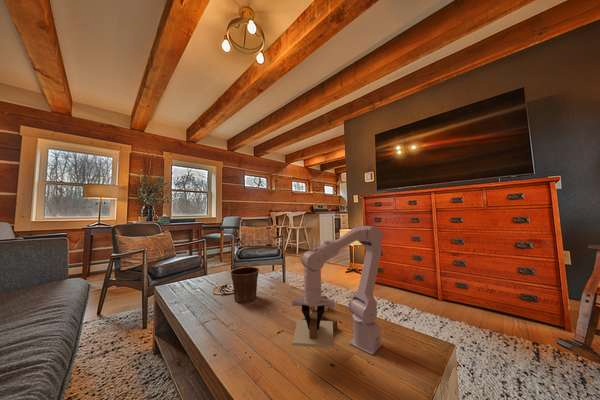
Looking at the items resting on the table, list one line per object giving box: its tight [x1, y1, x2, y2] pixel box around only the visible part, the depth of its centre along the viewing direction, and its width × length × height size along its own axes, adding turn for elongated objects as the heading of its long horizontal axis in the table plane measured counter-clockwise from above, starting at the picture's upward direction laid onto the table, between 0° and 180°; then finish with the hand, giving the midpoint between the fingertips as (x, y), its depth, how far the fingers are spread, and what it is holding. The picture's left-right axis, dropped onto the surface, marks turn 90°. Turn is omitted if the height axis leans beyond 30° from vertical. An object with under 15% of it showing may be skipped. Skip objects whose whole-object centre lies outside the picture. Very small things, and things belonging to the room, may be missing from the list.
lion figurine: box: [303, 294, 331, 313], centre depth 108 cm, size 15×5×9 cm, turn 109°
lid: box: [291, 312, 335, 349], centre depth 73 cm, size 13×13×5 cm
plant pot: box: [230, 266, 260, 304], centre depth 123 cm, size 16×16×16 cm
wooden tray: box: [301, 311, 339, 332], centre depth 90 cm, size 12×12×3 cm
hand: (313, 327), depth 72 cm, fingers closed on lid, 2 cm apart
